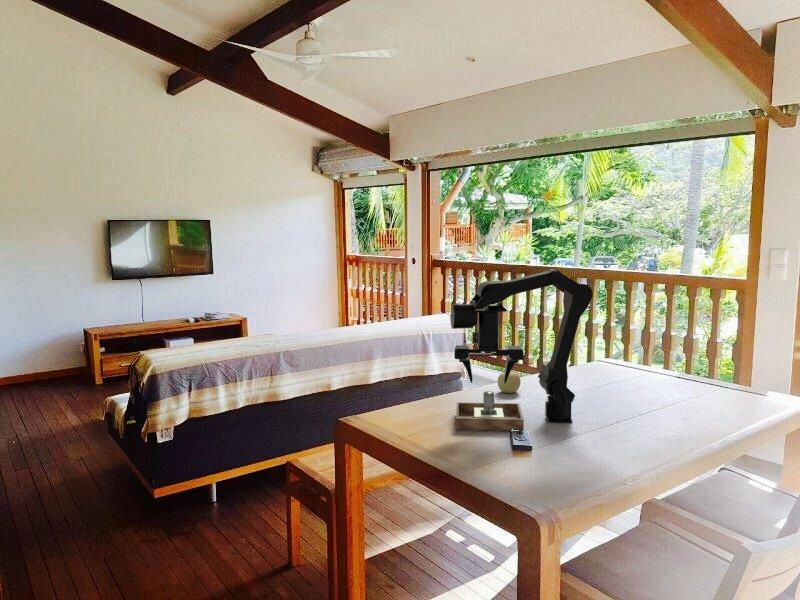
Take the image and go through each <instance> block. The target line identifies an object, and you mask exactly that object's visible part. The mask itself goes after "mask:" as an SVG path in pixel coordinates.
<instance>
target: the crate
mask: <svg viewBox="0 0 800 600" xmlns="http://www.w3.org/2000/svg"><path fill="white" fill-rule="evenodd" d="M474 408H483V402H460V401H459V402H456V414H455V420H456V421H455V423H456V424H455V426H456V427H455V430H456V431H455V432H458V431H459V432H493V433H494V432H495V433H496V432H502V433H511V432H510V431H511V430H512V429H513V430H519V431H524V432H525V430H524V424H525V423H524V421H525V418H524V415H523V413H522V409H521V406H520V403H516V402H514V403H513V402H511V403H510V402H494V408H502V410H503V415H504V418H474Z"/></svg>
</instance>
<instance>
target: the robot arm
mask: <svg viewBox="0 0 800 600" xmlns="http://www.w3.org/2000/svg"><path fill="white" fill-rule="evenodd" d="M550 286H553V287H555V288H556V289H557V290H559V291H560V292H562V293H563V295H562V296H563V298H562V304H563V315H562V318H561V321H560V325H559V328H558V334H557V335H556V336H557V337H556V340H555V343H554V347H553V350H552V354H551V357H550V360H549V361H548V363H547V364H544V363H542V364H541V366H540V371H539V374H538V376H537V377H538V378H539V381H538V383H539V385H540V387H541V388H542V389H544V391H545V392H546V394H547V398H546V399H547V400H546V401H545V405H544V407H545V408H544V416H545V418H546V419H547V421H548V422H549V423H573V419H572V404H573V402H574V400H575V397H576V395H575V393H574V392H573V391H571V389H570V388H569V387H568V380H569V379H568V377H569V376H568V362H569V359H570V356H571V351H572V349H573V346H574V345H573V344H574V342H575V338H576V334H577V331H578V327H579V323H580V320H581V317H582V315H583V314H584V313H585V312H586V310H587V309H588V307H589V306H590V303H591V301H592V299H593V296H594V292H593V290H592V288H591V286H590V285H588V284H586V283H582V282H579V281H575V280H574V279H571V278H570V277H569V276H567V275H564V273H562V272H561V271H559V270H556V269H552V268H551V269H548V270H546V271H541V272H538V273H533V274H529V275H526V276H521V277H518V278H514V279H510V280H487V281H482V282H481V283H479V285H478V286H477V287H476V294H475V295H474V296H473V297H472V299H471V300H470V301H469V302H468V303H464V304H463V303H462V304H461V303H460V304H459V303H452V306H451V307H452V308H451V311H450V316H449V318H450V328H451V329H453V330H454V329H455V330H458V329H459V330H460V329H474V327H475V326H476V325H477V332H475V331H473V332H472V345H477V348H470V346H469V345H468V344H466V345H458V344H457V345H455V347H454V351H453V353H454V359H455V360H458V361H459V363H463V364H462V365H463V366H464V367H465V370H466V372H467V375H468V378H469V382H470V384H473V373H472V364H471V357H470V356H472V357H473V356H475V357H477V356H478V357H481V356H482V357H487V356H488V357H505V367H504V372H505V374H504V383H506V381H507V379H508V376H509V374H510V371H511V372H512V369H513V367H514V366H515V364H518V363H519V361H523V360H524V356H525V355H524V350H523V347H522V346H520V345H508V346H507V349H506V348H500V313H504V312H508V310H507V308H506V307H504V306H503V304H502V303H501V302H503V301H505V300H506V299H508V298H510V297H512V296H514V295H517V294H518V295H519V294H522V293H525V292H529V291H534V290H537V289H541V288H542V289H543V288H545V287H550Z"/></svg>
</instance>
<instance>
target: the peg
mask: <svg viewBox="0 0 800 600" xmlns="http://www.w3.org/2000/svg"><path fill="white" fill-rule="evenodd" d="M482 394H483V402H482V403H483V415H494V403H495V392H494V391H489V390H487V391H483V392H482Z"/></svg>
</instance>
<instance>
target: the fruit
mask: <svg viewBox="0 0 800 600" xmlns="http://www.w3.org/2000/svg"><path fill="white" fill-rule="evenodd" d="M504 374H505V371H504V372H502V373H500V374H499V376H498V377H497V386H498V388H499V390H500V391H501V392H502V393H507V394H508V393H510V394H512V393H516V392H517V391H518V390H519V389H520V387H521V377H520V375H519V374H518V373H517V372H515V371H512V370H511V371H510V374H509V376H508V379H507V381H506V383H504Z"/></svg>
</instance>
